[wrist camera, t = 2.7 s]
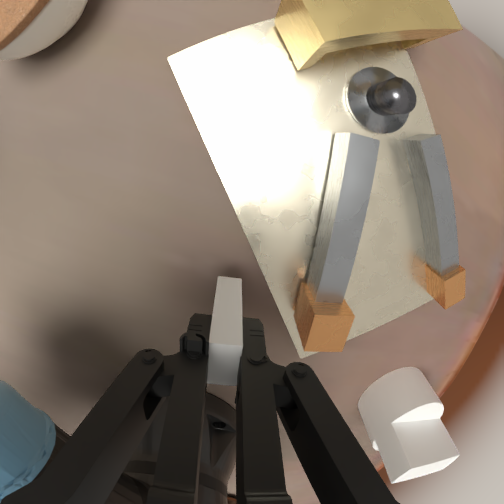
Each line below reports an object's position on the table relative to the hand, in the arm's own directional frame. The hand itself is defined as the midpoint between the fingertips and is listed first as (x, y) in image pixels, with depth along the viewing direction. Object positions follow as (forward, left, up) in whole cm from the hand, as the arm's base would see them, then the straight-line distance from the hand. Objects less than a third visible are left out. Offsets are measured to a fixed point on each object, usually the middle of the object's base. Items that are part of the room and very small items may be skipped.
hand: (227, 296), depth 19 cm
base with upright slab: (-14, -21, -4) cm, 26 cm away
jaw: (+4, -7, -3) cm, 8 cm away
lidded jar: (+21, +17, -4) cm, 28 cm away
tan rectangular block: (+19, -6, -3) cm, 20 cm away
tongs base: (+8, -8, -4) cm, 12 cm away
